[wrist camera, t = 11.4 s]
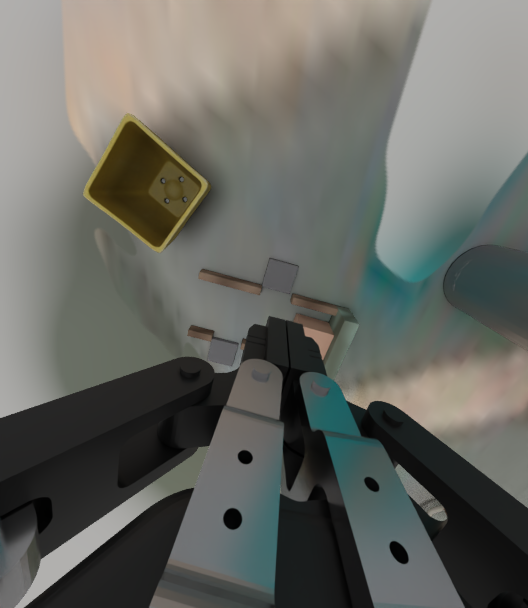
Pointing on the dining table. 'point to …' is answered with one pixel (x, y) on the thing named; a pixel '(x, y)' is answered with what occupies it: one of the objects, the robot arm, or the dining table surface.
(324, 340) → the terracotta block
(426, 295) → the dining table surface
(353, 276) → the dining table surface
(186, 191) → the flower pot
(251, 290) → the lane
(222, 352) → the trap pads
